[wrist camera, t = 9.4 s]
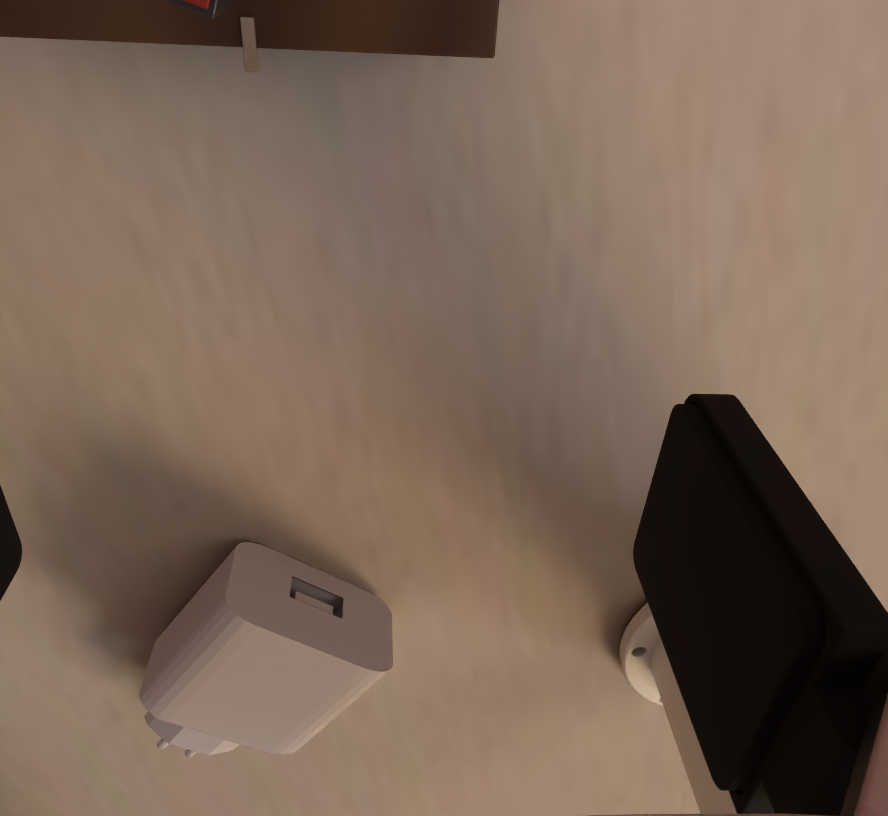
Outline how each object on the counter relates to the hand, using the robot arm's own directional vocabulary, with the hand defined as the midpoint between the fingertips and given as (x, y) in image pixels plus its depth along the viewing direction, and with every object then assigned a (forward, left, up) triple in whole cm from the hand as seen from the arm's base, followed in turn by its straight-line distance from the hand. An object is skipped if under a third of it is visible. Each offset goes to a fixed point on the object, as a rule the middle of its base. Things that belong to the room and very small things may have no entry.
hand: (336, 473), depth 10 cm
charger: (+7, +28, -19) cm, 35 cm away
